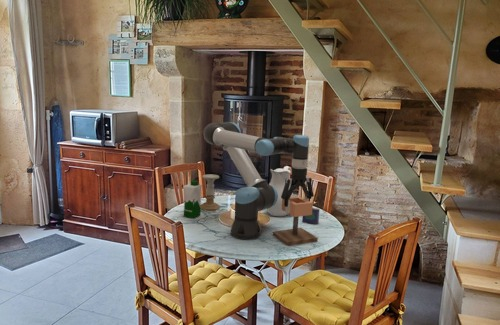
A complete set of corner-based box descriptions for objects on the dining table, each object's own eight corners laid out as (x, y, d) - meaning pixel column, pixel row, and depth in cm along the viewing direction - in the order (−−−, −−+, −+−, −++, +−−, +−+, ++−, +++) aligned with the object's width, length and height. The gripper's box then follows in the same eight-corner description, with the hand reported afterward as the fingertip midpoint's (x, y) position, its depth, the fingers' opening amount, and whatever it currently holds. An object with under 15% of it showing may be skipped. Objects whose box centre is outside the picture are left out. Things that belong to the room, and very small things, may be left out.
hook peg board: (287, 246, 177) (289, 218, 174) (272, 235, 190) (273, 209, 188) (317, 241, 184) (319, 215, 182) (300, 231, 197) (302, 206, 195)
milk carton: (202, 215, 217) (203, 181, 213) (194, 219, 208) (195, 184, 205) (189, 212, 220) (189, 179, 216) (181, 217, 212) (181, 182, 208)
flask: (318, 223, 211) (320, 205, 209) (317, 225, 208) (319, 206, 206) (302, 221, 214) (303, 203, 212) (301, 222, 211) (302, 204, 210)
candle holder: (195, 208, 229) (196, 176, 226) (208, 203, 239) (208, 173, 236) (211, 212, 223) (212, 179, 219) (223, 207, 233) (224, 175, 230)
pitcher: (286, 219, 215) (289, 172, 210) (259, 214, 222) (262, 168, 217) (299, 209, 236) (302, 166, 231) (274, 205, 243) (277, 163, 238)
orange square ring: (294, 216, 177) (295, 204, 176) (281, 209, 188) (282, 198, 187) (312, 214, 182) (312, 202, 181) (298, 207, 192) (299, 196, 191)
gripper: (283, 169, 173) (280, 216, 176) (323, 167, 182) (320, 211, 186) (275, 167, 179) (272, 211, 183) (314, 165, 189) (311, 207, 193)
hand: (296, 211), depth 185 cm, fingers closed on orange square ring, 10 cm apart
